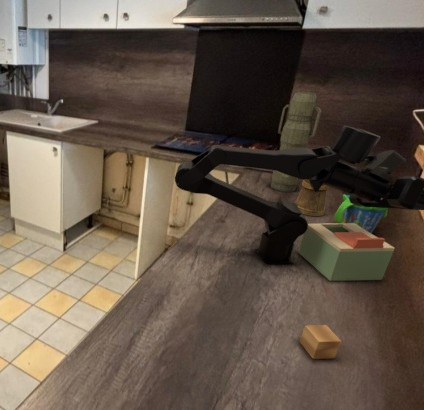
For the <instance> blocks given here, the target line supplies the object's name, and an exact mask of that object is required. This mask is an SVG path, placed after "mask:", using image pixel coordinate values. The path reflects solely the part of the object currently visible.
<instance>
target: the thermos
mask: <svg viewBox="0 0 424 410" xmlns="http://www.w3.org/2000/svg"><path fill="white" fill-rule="evenodd" d="M317 101H318V100H317V93H316V92H315V91H311V90H310V91H308V90H299V91H297V92H295V94H294V95H293V97H292V98H291V100H290V104H286V105H285V106H284V107H283V108H282V111H281V115H280V120H279V125H278V130H277V134H280V146H279V150H284V149H289V148H307V145H309V141H310V139H312V138H314V137H315V136H316V132H317V129H318V126H319V122H320V119H321V116H322V113H323V112H322V110H321V108H320V107H318V106H316V105H317ZM287 108H288V116H287V118H286V122H285V123H284V125H283V122H284V118H285V113H286V110H287ZM315 111H316V113H317V114H316V117H315V121H314V125H313V126H312V121H313V117H314V113H315ZM282 126H283V127H282ZM312 127H313V129H312ZM299 180H300V178H296V177H293V176H289V175H286V174H284V173H281V172H279V171H275V170H272V175H271V183H270V188H271V189H273V190H275V191H279V192H283V193H292V192H293V193H294V192H296V190H297V186H298V184H299Z"/></svg>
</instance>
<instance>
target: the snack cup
mask: <svg viewBox="0 0 424 410" xmlns="http://www.w3.org/2000/svg"><path fill="white" fill-rule="evenodd" d="M349 196H350V195H345V194H342V202H341V204H340V205H339V206H338V209H337V210H336V212H335V213H334V219H333V220H334V221H335V223H355V224H356V225H358V226H360V227H361V228H363V229H365V230H366V231H368V232H369V233H371V234H373V232H374V231H375V230H376V228H377V227H378V225H379V223H380V221H381V220H382V219H385V218H386V217H387V215H388V211H389V208H377V207H364V206H357V205H355V204H352V203H350V200H349Z"/></svg>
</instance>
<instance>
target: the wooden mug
mask: <svg viewBox="0 0 424 410" xmlns="http://www.w3.org/2000/svg"><path fill="white" fill-rule="evenodd" d="M302 180H303V181H302V183H301V189H300V191H299V193H298V195H297V198H296V200H295V201H294V203H296V204H297V206H298V208H299V209H300V210H301V212H302V213H303V215H306V216H311V217H321V216H322V217H323V216H324V215H325V214H326V213H325V212H326V206H325V205H326V197H327V196H326V195H327V190H328V188H329V186H326V185H322V186H321V188H320V189H319V190H318V191H317V192H315V191H314V190H313V188H312V187H311V183H310V182H309V180H308V179H302Z"/></svg>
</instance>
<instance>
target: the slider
mask: <svg viewBox="0 0 424 410" xmlns="http://www.w3.org/2000/svg"><path fill="white" fill-rule="evenodd" d="M334 235H335V236H337V237H338V238H340V239H341V240H342V241H344V242H345V243H347V244H348V245H350V246H351V247H352V248H383V247H384V246H383V243H384V242H386V239H385V238H384V237H378V238H371V237H369V236H367V235H366V234H364V233H363V232H334Z"/></svg>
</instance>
